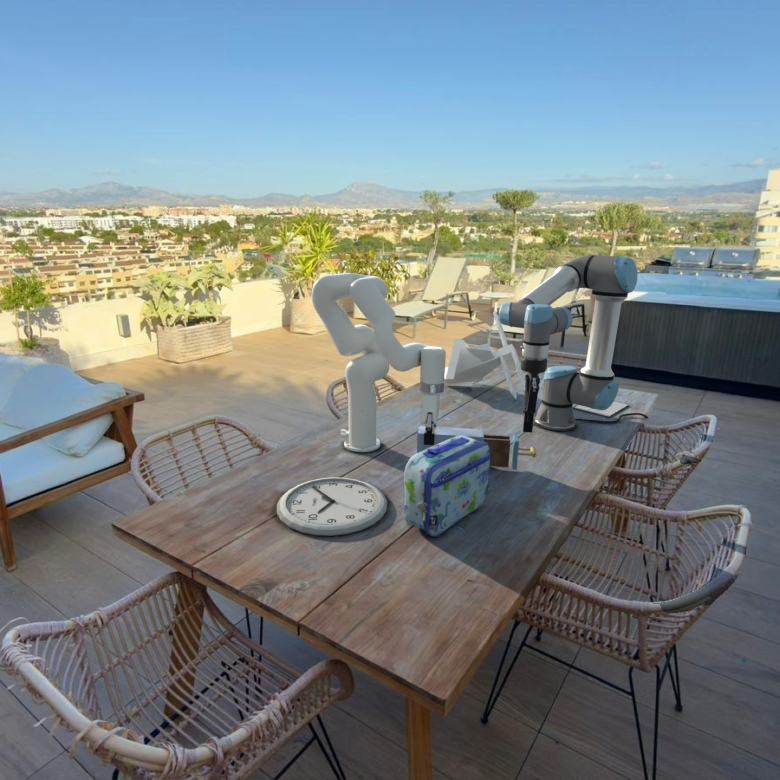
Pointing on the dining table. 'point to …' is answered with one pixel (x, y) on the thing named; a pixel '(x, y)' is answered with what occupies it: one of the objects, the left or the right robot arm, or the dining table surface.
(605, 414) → the invitation card
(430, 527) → the lunch box
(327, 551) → the dining table surface
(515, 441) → the drawer
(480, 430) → the cabinet
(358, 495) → the wall clock
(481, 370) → the white plastic object
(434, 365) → the left robot arm
